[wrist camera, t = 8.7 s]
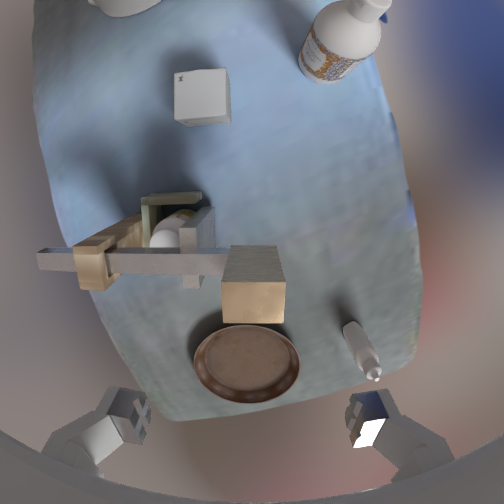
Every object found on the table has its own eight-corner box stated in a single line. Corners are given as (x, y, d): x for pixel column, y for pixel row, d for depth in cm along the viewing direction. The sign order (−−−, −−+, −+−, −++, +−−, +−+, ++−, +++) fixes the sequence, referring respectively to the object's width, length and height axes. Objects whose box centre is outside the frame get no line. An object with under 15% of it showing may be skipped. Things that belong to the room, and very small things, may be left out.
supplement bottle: (170, 246, 40) (147, 271, 31) (166, 209, 38) (140, 224, 29) (206, 244, 40) (192, 270, 31) (203, 207, 38) (187, 221, 29)
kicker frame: (134, 194, 37) (68, 217, 22) (202, 191, 37) (165, 212, 22) (141, 260, 41) (86, 313, 25) (204, 261, 40) (176, 321, 25)
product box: (187, 128, 35) (172, 120, 28) (186, 87, 33) (172, 71, 26) (232, 124, 35) (227, 115, 28) (231, 83, 33) (226, 66, 26)
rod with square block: (91, 211, 37) (-10, 255, 17) (269, 206, 37) (286, 259, 17) (96, 249, 39) (6, 313, 19) (268, 250, 39) (282, 341, 19)
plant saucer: (181, 325, 44) (177, 336, 41) (289, 305, 43) (291, 315, 40) (214, 397, 50) (212, 409, 47) (304, 383, 48) (306, 394, 45)
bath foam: (288, 51, 31) (317, -31, 12) (331, 38, 30) (384, -35, 11) (311, 91, 33) (364, 33, 14) (353, 78, 32) (428, 24, 13)
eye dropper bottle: (340, 347, 45) (359, 395, 34) (342, 321, 44) (365, 367, 32) (363, 344, 45) (386, 389, 34) (367, 317, 43) (395, 361, 32)
